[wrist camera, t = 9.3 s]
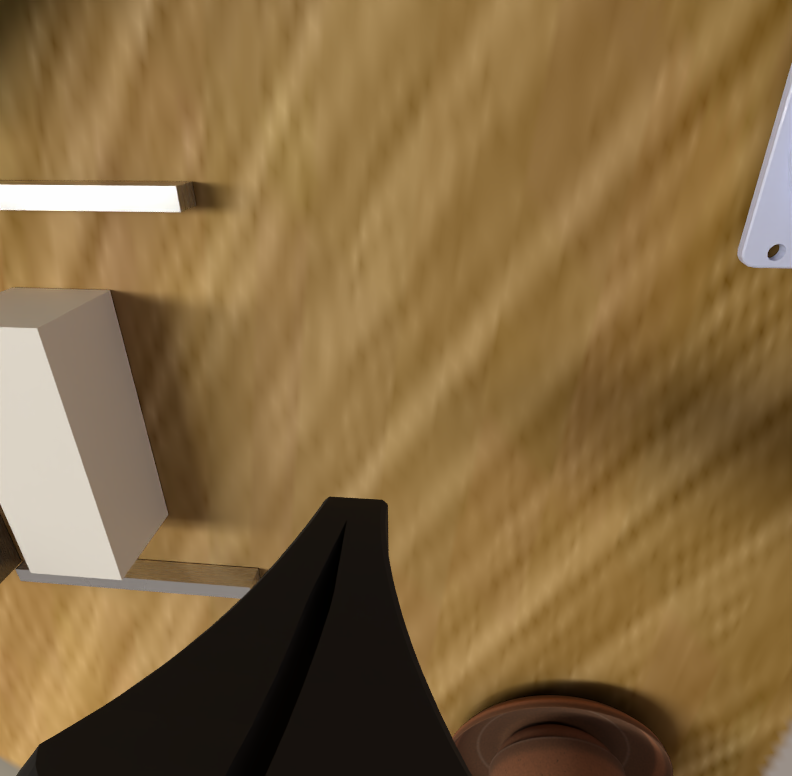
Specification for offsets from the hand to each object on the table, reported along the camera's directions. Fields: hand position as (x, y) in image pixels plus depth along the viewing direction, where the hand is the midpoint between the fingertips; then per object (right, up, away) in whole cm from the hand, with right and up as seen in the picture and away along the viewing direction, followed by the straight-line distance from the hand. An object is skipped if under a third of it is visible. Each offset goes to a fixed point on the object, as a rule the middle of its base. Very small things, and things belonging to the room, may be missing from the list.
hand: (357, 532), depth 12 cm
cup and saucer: (+10, -17, +19) cm, 27 cm away
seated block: (-12, +2, +11) cm, 16 cm away
